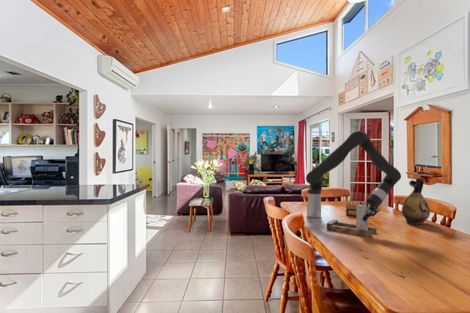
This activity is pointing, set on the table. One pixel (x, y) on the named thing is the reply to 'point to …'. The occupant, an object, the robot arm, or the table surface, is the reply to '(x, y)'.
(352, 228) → the channel
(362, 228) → the energy drink can
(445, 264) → the table surface
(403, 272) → the table surface
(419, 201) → the ceramic jug
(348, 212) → the ammunition clip
